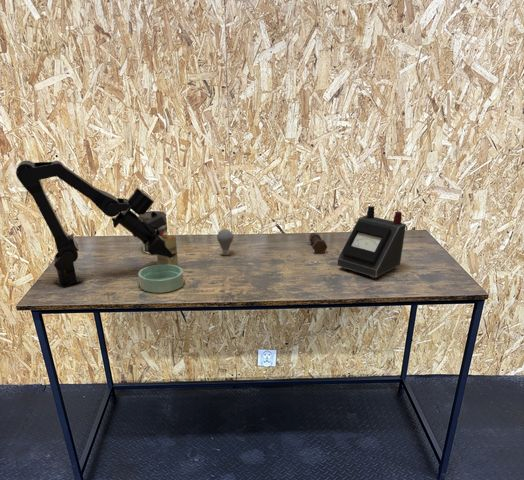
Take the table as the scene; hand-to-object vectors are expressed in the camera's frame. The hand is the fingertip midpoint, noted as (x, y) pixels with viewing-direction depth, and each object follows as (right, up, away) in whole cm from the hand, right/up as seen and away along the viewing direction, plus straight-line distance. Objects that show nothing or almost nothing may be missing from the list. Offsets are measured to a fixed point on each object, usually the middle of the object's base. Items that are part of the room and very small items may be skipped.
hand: (170, 253), depth 174 cm
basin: (-1, -12, -8) cm, 15 cm away
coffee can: (-10, +5, +21) cm, 24 cm away
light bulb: (+18, +2, +17) cm, 25 cm away
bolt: (+54, +7, +25) cm, 60 cm away
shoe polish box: (-1, -6, +3) cm, 7 cm away
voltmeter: (+70, -5, +4) cm, 71 cm away
